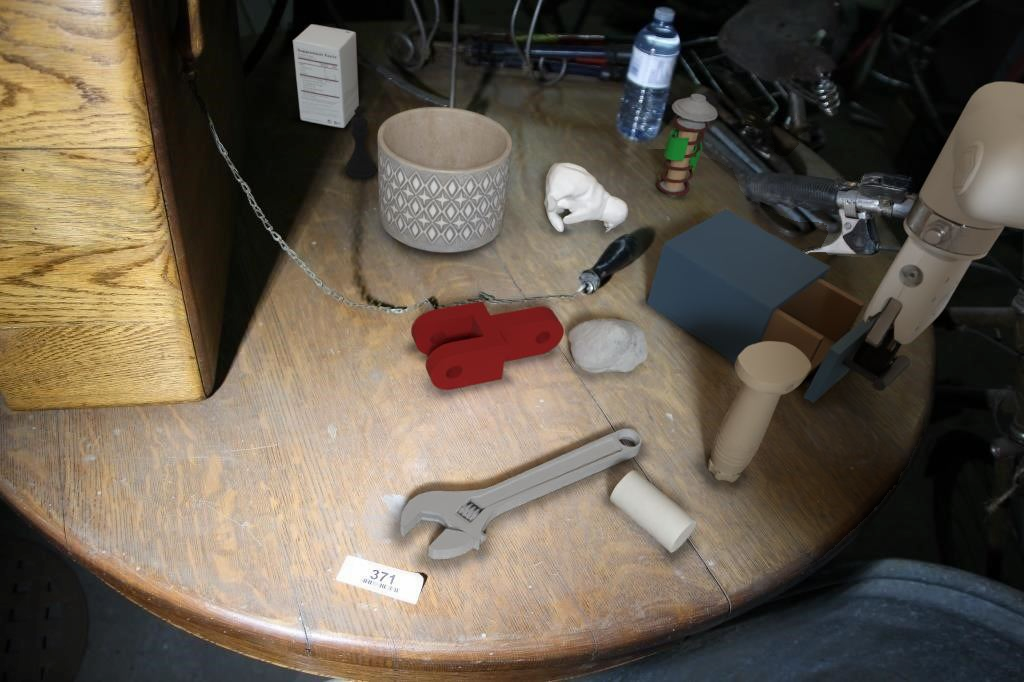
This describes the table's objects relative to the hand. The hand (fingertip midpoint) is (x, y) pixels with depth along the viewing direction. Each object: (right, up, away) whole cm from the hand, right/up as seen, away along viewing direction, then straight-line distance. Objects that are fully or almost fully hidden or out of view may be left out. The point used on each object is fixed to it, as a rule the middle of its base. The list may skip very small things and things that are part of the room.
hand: (868, 366), depth 81 cm
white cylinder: (-26, -14, -12) cm, 32 cm away
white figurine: (-29, +19, +23) cm, 41 cm away
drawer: (-5, +1, +5) cm, 7 cm away
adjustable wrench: (-36, -12, -11) cm, 40 cm away
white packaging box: (-67, +39, +39) cm, 87 cm away
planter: (-48, +18, +20) cm, 55 cm away
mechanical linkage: (-41, +1, +2) cm, 41 cm away
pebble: (-28, +1, +4) cm, 28 cm away
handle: (-18, -10, -7) cm, 21 cm away
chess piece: (-60, +27, +28) cm, 71 cm away
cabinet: (-12, +6, +11) cm, 18 cm away
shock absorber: (-14, +25, +32) cm, 43 cm away
